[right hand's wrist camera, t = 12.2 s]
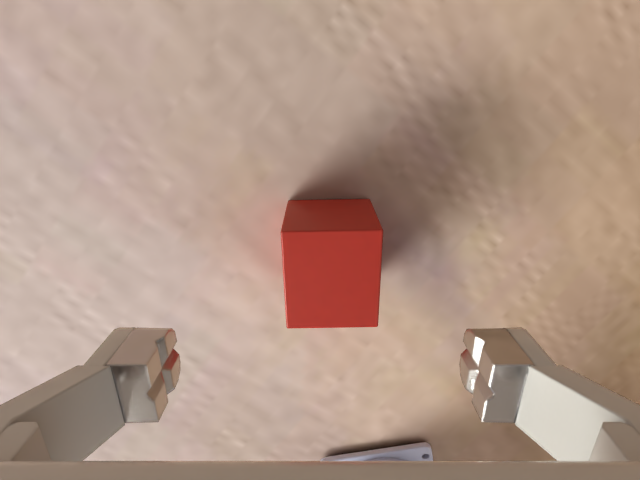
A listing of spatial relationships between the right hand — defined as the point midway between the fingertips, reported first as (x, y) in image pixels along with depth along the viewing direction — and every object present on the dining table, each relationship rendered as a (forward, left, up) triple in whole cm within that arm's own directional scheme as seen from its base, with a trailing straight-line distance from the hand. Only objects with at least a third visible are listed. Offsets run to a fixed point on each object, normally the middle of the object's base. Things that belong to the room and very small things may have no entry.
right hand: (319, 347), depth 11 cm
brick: (+1, -1, -11) cm, 11 cm away
